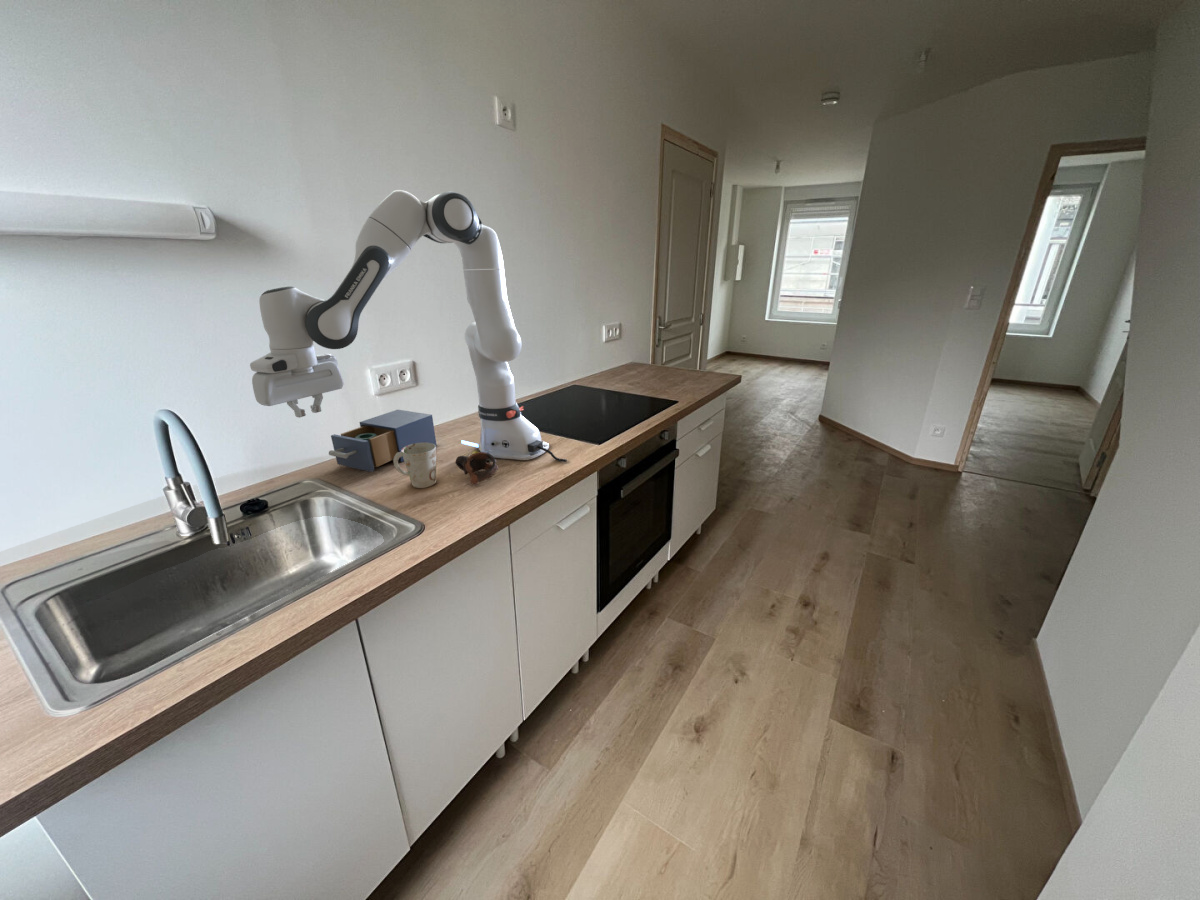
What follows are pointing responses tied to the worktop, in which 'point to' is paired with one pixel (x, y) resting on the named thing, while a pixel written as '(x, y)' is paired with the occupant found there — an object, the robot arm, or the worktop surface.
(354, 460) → the drawer
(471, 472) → the pottery mug
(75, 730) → the worktop surface
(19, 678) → the worktop surface
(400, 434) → the cabinet
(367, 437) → the jar
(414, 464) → the mug
